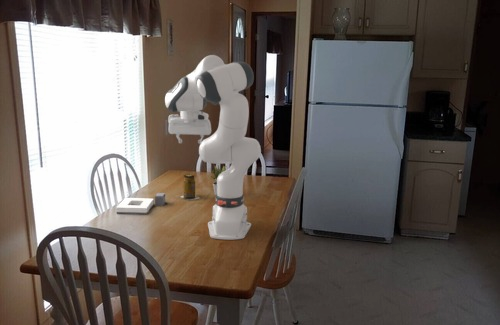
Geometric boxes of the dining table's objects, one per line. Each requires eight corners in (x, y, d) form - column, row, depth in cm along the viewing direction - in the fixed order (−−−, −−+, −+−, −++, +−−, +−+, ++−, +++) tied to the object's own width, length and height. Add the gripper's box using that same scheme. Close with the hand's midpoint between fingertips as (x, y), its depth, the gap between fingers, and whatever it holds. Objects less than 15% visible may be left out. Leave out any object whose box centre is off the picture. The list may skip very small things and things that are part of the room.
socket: (146, 214, 205) (146, 208, 204) (116, 213, 205) (116, 207, 204) (153, 204, 218) (153, 198, 218) (125, 203, 218) (125, 197, 218)
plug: (163, 205, 217) (163, 196, 215) (155, 205, 217) (154, 195, 216) (165, 202, 222) (165, 192, 220) (157, 202, 222) (157, 192, 220)
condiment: (191, 194, 235) (191, 172, 232) (200, 198, 229) (200, 176, 226) (179, 196, 230) (179, 174, 228) (188, 201, 224) (188, 178, 221)
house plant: (229, 200, 226) (229, 169, 222) (203, 198, 229) (203, 167, 225) (235, 192, 240) (236, 163, 236) (211, 190, 242) (211, 161, 238)
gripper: (166, 115, 208) (167, 144, 211) (210, 116, 207) (210, 145, 210) (169, 113, 214) (170, 141, 217) (211, 114, 213) (211, 142, 217)
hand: (190, 143), depth 214 cm, fingers open, 8 cm apart
